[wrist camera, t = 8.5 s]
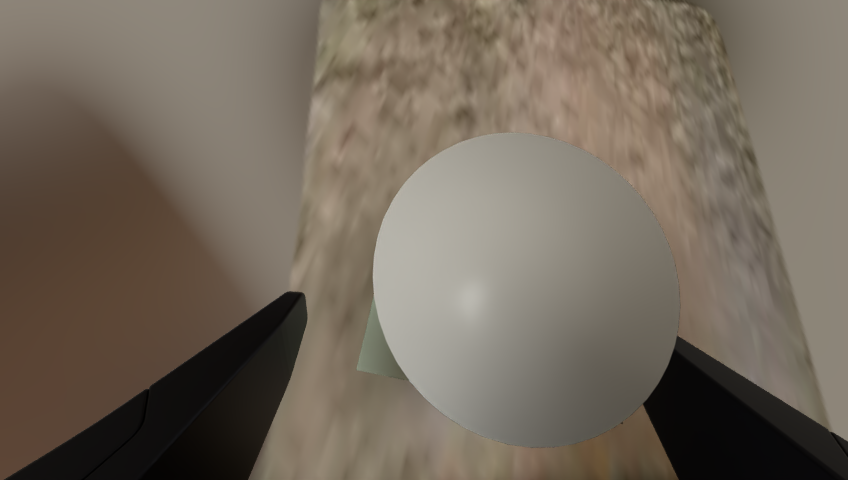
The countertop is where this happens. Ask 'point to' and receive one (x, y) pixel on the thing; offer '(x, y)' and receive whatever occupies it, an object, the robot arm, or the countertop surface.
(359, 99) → the countertop surface
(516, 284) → the white cylinder
